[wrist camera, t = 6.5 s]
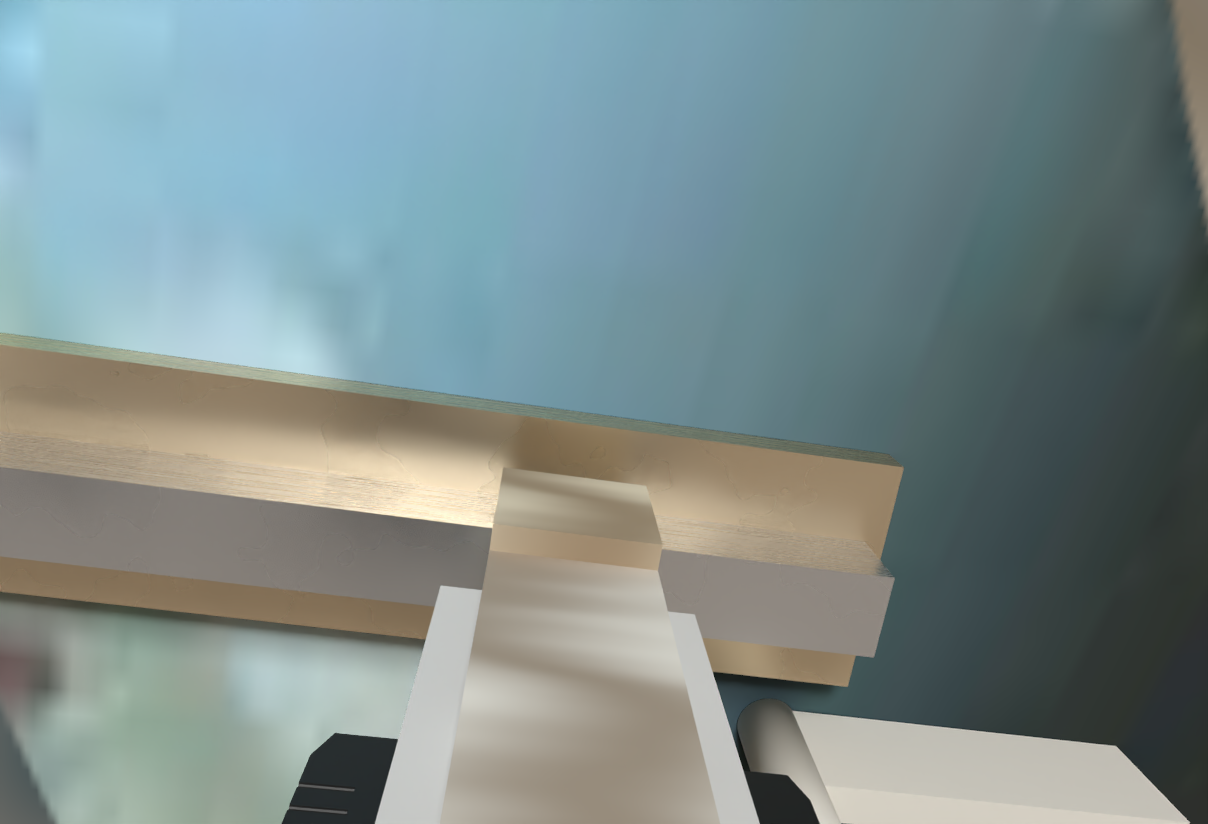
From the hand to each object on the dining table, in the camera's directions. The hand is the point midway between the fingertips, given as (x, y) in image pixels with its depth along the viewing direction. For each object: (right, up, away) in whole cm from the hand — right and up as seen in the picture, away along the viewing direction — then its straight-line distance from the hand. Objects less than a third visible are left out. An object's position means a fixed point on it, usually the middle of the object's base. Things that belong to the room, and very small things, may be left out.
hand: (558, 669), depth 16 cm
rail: (-4, +2, +6) cm, 8 cm away
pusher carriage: (0, -5, +8) cm, 10 cm away
